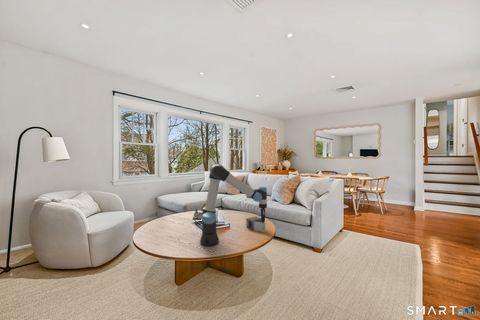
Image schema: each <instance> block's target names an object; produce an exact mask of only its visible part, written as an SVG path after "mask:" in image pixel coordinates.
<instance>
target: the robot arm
mask: <svg viewBox="0 0 480 320" xmlns="http://www.w3.org/2000/svg"><path fill="white" fill-rule="evenodd" d="M208 180H210V181H209V184H208V185H209V186H208V190H207V195H206V201H205V203H206V205H205V207H204V208H203V211H201V213H202V214H201V219H202V222H201V237H200V239H199V243H200V245H201V246H203V247H213V246H216V245H218V244H219V242H220V241H219V240H220V239H219V236H218V233H217V215H216V213H217V209H216V204H217V198H218V193H219V188H220V185H221V182H225V183H227V184H228V185H230V186H231V187H233V188H235V189H237V190H238V191H240V192H241V193H242V194H244V195H245V196H246V199H252V200H253V201H254V202H256V203H258V208H259V209H260V218H261V223H265V224H266V208H268V204H267V203H268V189H267V186H259V187H258V188H257V189H254V188H252V187H251V186H249V185H248V184H246V183H244V182H243V181H242V180H240V179H238V178H237V177H235V176H234V175H232V174H231V172H230V171H229V170H228V169H226V168H225V167H224V166H223V165H222V164H220V163H213V164H212V165H211V166H210V168H209V177H208Z"/></svg>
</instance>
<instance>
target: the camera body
mask: <svg viewBox="0 0 480 320" xmlns="http://www.w3.org/2000/svg"><path fill="white" fill-rule="evenodd" d="M253 221H254V222H260V223H261V217H260V216H259V217H258V216H255V215H254V216H251V217H247V218H246V221H245V225H246V229H248V230H251V231H253Z"/></svg>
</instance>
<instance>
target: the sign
mask: <svg viewBox="0 0 480 320" xmlns="http://www.w3.org/2000/svg"><path fill="white" fill-rule="evenodd" d="M205 205H206V202H205V203H204V204H203V206H201V209H200V211H201V212H199V211H198V209H195V211H194V214H193V217H192V221H195V220H201V214H202V212H203V208H204V207H205Z"/></svg>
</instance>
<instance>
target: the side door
mask: <svg viewBox="0 0 480 320" xmlns="http://www.w3.org/2000/svg"><path fill="white" fill-rule="evenodd" d="M252 231H253V232H254V231H256V232H257V231H258V232H262V233H266V222H265V223H260V222H254V221H253V230H252Z"/></svg>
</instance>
